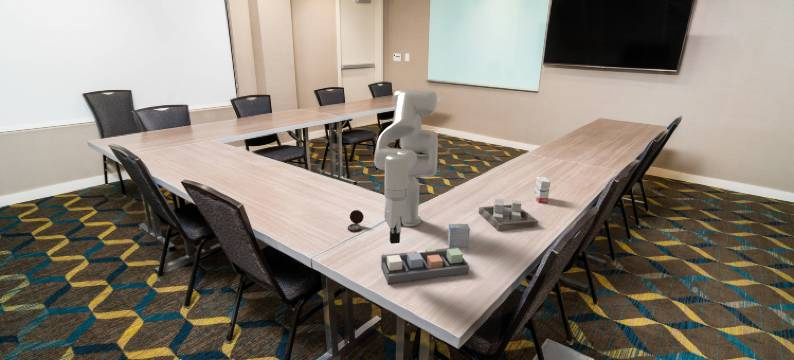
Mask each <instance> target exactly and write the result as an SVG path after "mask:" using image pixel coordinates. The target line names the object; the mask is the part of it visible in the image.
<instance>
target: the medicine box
mask: <svg viewBox="0 0 794 360" xmlns="http://www.w3.org/2000/svg"><path fill="white" fill-rule="evenodd" d="M470 231H471V228H470V226H469V224H468V223H449V224H448V231H447V245H448V248H453V247H458V248H469V243H470V242H469V241H470V233H471V232H470Z"/></svg>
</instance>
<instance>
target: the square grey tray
mask: <svg viewBox="0 0 794 360" xmlns="http://www.w3.org/2000/svg"><path fill="white" fill-rule="evenodd" d="M504 207H505V208H511V207H512V204H505V205H504ZM493 210H494V205H491V206H490V205H489V206H479V207H478V214H479V215H480V216H481V217H482V218H484V220H485V221H486V222H488V224H489V225H491V226H492V227H493V228H494V230H496V231H497V232H500V231H501V232H502V231H511V230H521V229H523V230H524V229H531V228H538V225H539V220H537V218H535V217H533V216H532V215H531V214H530V213H528V212H527V211H526V210H524V208H522V207H521V210H520V214H521V219H523V220H520V221H515V222H511V221H507V222H505V221H504V222H502V223H500V222H498V221H497V220H496V219H495V218H494V217H493Z"/></svg>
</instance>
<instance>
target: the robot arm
mask: <svg viewBox="0 0 794 360" xmlns="http://www.w3.org/2000/svg"><path fill="white" fill-rule="evenodd" d="M393 103H394V113H393V120H392V123H391V124H390V125H389V126H387V127H386V128H385V129H384V130H383V131H382V132H381V133H380V135H379V136H378V138H377V141H376V146H375V151H374V159H373V161H374V166H375V168H377V169H379V170H382V171H384V198H385V202H384V219H385V222H386V223H387V225H388V227H389V243H390V244H392V245H393V244H400V242H401V232H402V228H404V227H408V228H409V227H415V226H418V225H420V224H421V223H422V218H421V216H419V202H420V201H419V200H420V183H419V181H418V180H417V178H416V177H423V178H424V177H425V178H432V177H434V176H435V175H436V173H437V167H438V150H439V148H438V147H439V139H438V134H437V132H436V131H434V130H431V129H430V130H429V129H422V125H421V124H422V118H421V116H422V115H423V116H432V115H434V113H435V111H436V109H437V106H438V95H437V93H436V92H435V91H434V90H422V89H420V90H419V89H418V90H417V89H399V90H397V91H395V92H394V93H393ZM397 140H399V141H400V147H401V148H394V147H387V146H388V145H389V144H390V143H392V142H394V141H397ZM418 153H425V154H418Z"/></svg>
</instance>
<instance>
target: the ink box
mask: <svg viewBox="0 0 794 360" xmlns="http://www.w3.org/2000/svg"><path fill="white" fill-rule="evenodd" d="M550 187H551V181H550V179H548V178H547V177H546V176H536V180H535V187H534V191H533V198H534V200H536V201H537V203H539V204H540V203H541V204H548V201H549V194H550Z"/></svg>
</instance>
